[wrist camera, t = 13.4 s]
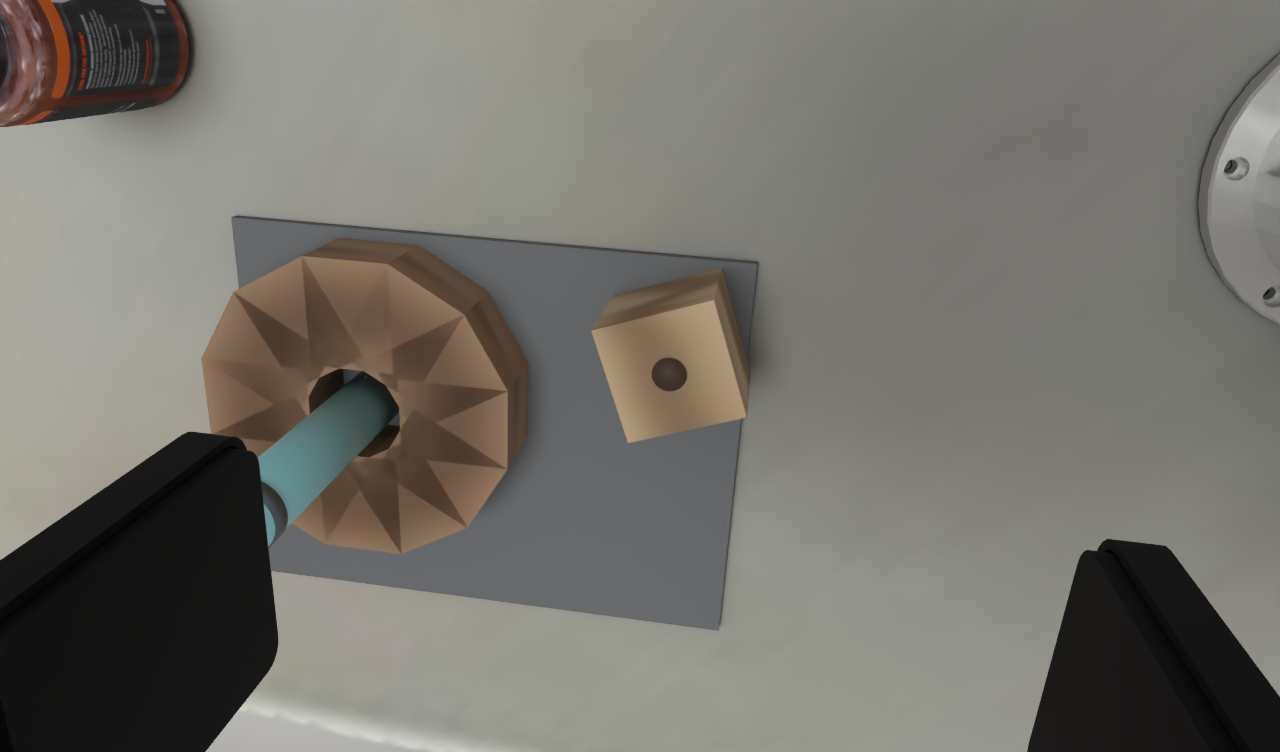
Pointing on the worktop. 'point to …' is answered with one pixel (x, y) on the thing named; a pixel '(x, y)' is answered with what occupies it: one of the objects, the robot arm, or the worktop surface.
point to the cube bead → (674, 356)
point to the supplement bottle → (87, 57)
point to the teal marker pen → (321, 449)
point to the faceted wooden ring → (394, 355)
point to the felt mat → (555, 445)
